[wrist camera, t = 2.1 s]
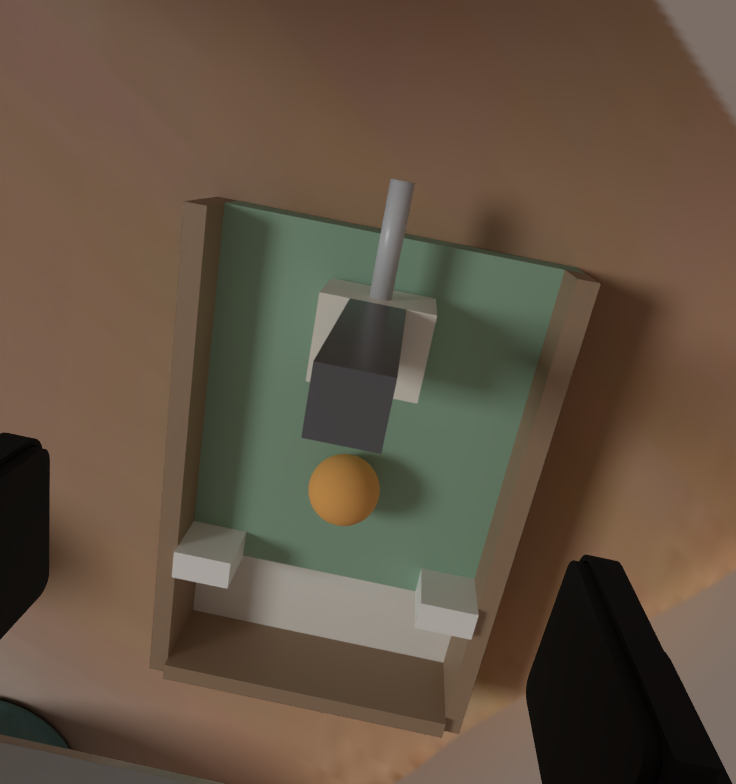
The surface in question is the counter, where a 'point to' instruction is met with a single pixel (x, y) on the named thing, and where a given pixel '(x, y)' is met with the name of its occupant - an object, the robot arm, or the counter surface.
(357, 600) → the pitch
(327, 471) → the ball
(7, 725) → the flower pot
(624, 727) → the robot arm
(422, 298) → the striker
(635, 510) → the counter surface
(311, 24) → the counter surface
